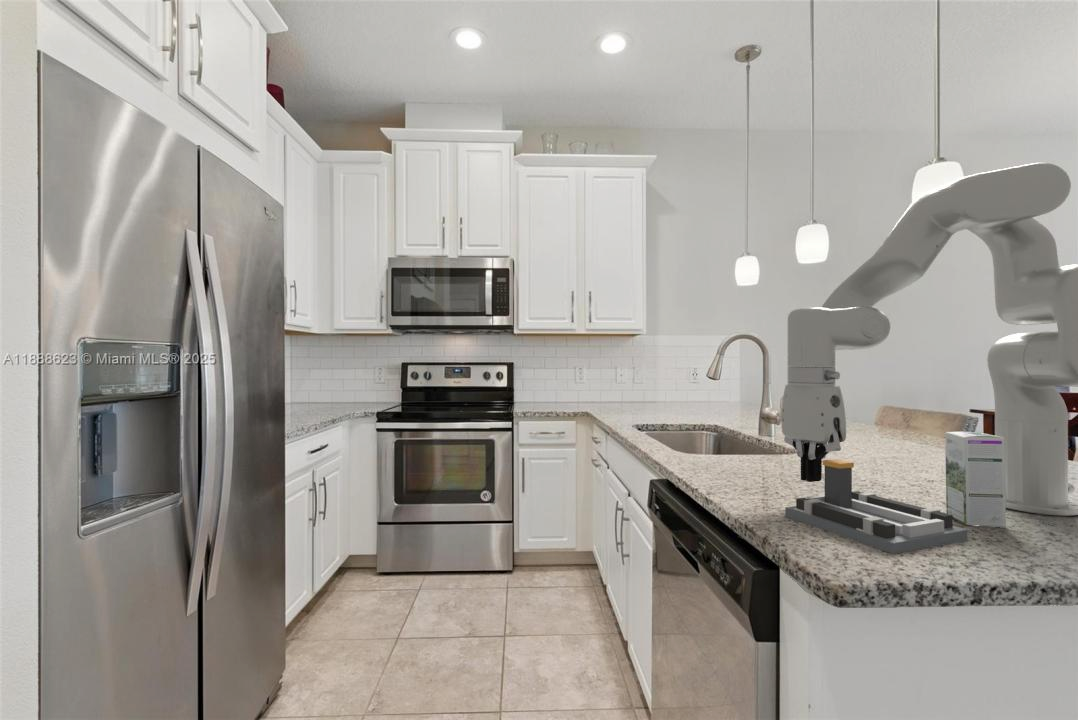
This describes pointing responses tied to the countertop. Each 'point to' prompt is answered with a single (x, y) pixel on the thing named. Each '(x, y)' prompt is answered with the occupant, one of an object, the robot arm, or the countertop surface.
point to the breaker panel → (907, 527)
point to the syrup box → (975, 478)
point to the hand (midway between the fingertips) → (811, 480)
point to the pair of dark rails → (865, 522)
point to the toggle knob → (838, 482)
